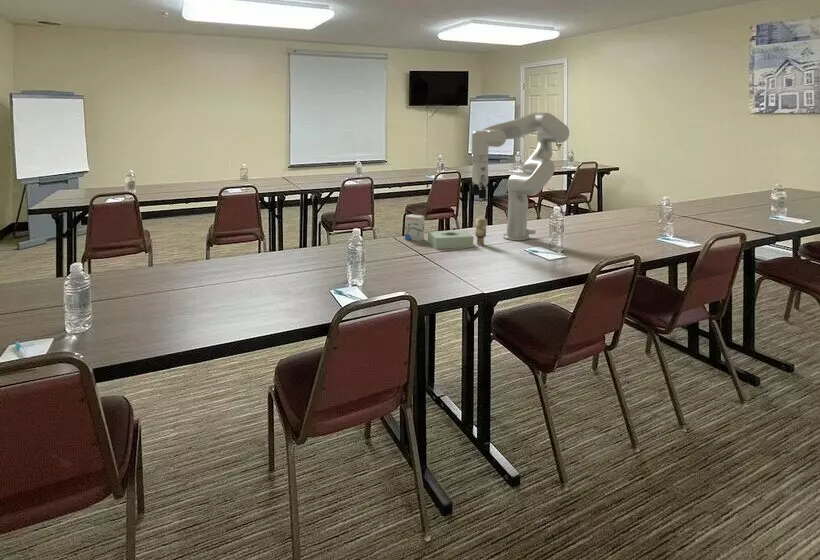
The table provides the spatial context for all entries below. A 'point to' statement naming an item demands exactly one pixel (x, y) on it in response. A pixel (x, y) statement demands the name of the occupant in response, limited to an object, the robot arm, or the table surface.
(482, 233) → the peg
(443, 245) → the board
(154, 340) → the table surface
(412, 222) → the ink box
